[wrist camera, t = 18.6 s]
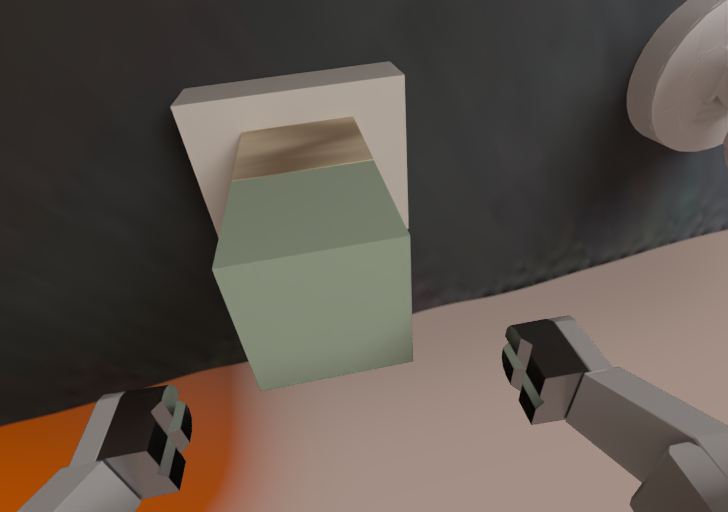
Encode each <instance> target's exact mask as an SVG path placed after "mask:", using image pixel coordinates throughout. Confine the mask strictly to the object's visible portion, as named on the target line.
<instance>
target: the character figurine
mask: <svg viewBox="0 0 728 512" xmlns="http://www.w3.org/2000/svg"><path fill="white" fill-rule="evenodd" d="M627 111H628V116H629V119H630V121H631V123H632V125H633V126H634V128H635V129H636V130H637V131H638V132H639V133H640V134H641V135H643V136H645V137H648V138H650V139H652V140H654V141H656V142H658V143H660V144H662V145H664V146H667V147H669V148H671V149H674V150H677V151H682V152H697V151H701V150H705V149H710V148H714V147H716V146H718V145H720V144H723V145H724V150H725V151H724V156H725V159H726V160H725V163H726V166H727V169H728V0H688V1H686V2H685V3H684V4H683V5H682V6H680V7H679V8H678V9H677V10H676V11H675V12H673V13H672V14H671V15H670V16H669V17H668V18H667V19H666V21H665V22H664V23H663V24H662V25H661V26H660V27H659V28H658V29H657V30H656V32H655V33H654V35H653V36H652V37H651V39H650V40H649V42H648V43H647V44H646V46H645V47H644V49H643V51H642V53H641V55H640V57H639V58H638V60H637V62H636V64H635V67H634V70H633V72H632V75H631V78H630V81H629V86H628V91H627Z"/></svg>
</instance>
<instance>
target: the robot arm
mask: <svg viewBox="0 0 728 512" xmlns="http://www.w3.org/2000/svg"><path fill="white" fill-rule="evenodd" d="M505 337H506V338H507V340H508V342H509V343H508V344H507V345H506V346H505V347H504V348H503V352H502V362H503V368H504V371H505V374H506V376H507V378H508V381H509V382H510V384H511V385H512V386H513V387H515V388H516V389H518V390H520V391H521V392H520V397H519V402H520V404H521V406H522V408H523V410H524V412H525V414H526V415H527V417H528V419H529V421H530V423H531V425H533V424H540V423H545V422H552V421H558V420H564V419H566V422H567V423H568V424H570V425H571V426H572V427H573V428H575V429H576V430H577V431H578V432H580V433H581V434H582V435H583V436H584V437H586V438H587V439H588V440H590V441H591V442H592V443H593V444H594V445H596V446H597V447H598V448H599V449H601V450H602V451H603V452H604V453H606V454H607V455H608V456H609V457H611V458H612V459H613V460H615V461H616V462H617V463H618V464H620V465H621V466H622V467H623V468H624V469H626V470H627V471H628V472H629V473H631V474H632V475H633V476H634V477H636V478H637V479H638V480H639V481H641V482H642V484H641V486H640V487H639V488H638V490H637V491H636V492H635V494H634V495H633V497H632V499H631V502H630V506H631V508H632V509H633V511H634V512H728V425H726V424H724V423H722V422H720V421H718V420H716V419H714V418H713V417H711V416H709V415H707V414H705V413H703V412H702V411H700V410H698V409H696V408H694V407H692V406H691V405H689V404H687V403H685V402H683V401H681V400H679V399H678V398H676V397H674V396H672V395H670V394H668V393H666V392H665V391H663V390H661V389H659V388H657V387H655V386H653V385H651V384H650V383H648V382H646V381H644V380H642V379H640V378H639V377H637V376H635V375H633V374H631V373H629V372H627V371H625V370H624V369H622V368H620V367H615V368H613V367H612V366H611V365H610V364H609V362H608V361H607V360H606V358H605V357H604V356H603V355H602V353H601V352H600V351H599V350H598V348H597V347H596V346H595V345H594V344H593V342H592V341H591V340H590V338H589V337H588V336H587V334H586V333H585V332H584V331H583V329H582V328H581V327H580V326H579V325H578V323H577V322H576V321H575V319H574V318H572V317H571V316H563V317H557V318H551V319H544V320H538V321H532V322H527V323H522V324H516V325H511V326H509V327H508V328H507V330H506V335H505ZM178 395H179V392H178V390H177V389H176V387H175V386H174V385H165V386H158V387H151V388H145V389H138V390H131V391H124V392H118V393H112V394H106V395H103V396H102V397H101V398H100V399H99V400H98V401H97V403H96V406H95V407H94V410H93V412H92V414H91V417H90V419H89V421H88V424H87V426H86V428H85V430H84V433H83V435H82V437H81V439H80V442H79V444H78V446H77V448H76V451H75V453H74V455H73V458H72V460H71V462H70V465H69V467H64V468H61V469H60V470H59V471H58V472H57V473H56V474H55V475H54V476H53V477H52V478H51V479H50V480H49V481H48V482H47V483H46V484H45V485H44V486H43V487H42V488H41V489H40V490H39V491H38V492H37V493H36V494H35V495H33V496H32V497H31V499H29V500H28V501H27V502H26V504H24V505H23V506H22V507H21V508H20V509H19V510H18V511H17V512H135V511H136V509H137V508H138V506H139V505H140V503H141V499H145V498H150V497H155V496H159V495H164V494H168V493H173V492H178V491H180V487H181V482H182V477H183V473H184V468H185V463H186V461H185V459H184V458H183V456H182V454H181V453H182V452H183V450H184V449H185V448H186V447H187V445H188V444H189V443H190V439H191V433H192V417H191V414H190V410H189V408H188V406H187V405H186V403H183V402H181V401H179V400H177V399H178Z"/></svg>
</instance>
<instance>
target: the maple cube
mask: <svg viewBox="0 0 728 512" xmlns="http://www.w3.org/2000/svg"><path fill="white" fill-rule="evenodd" d="M370 160H374V159H373V157H372V155H371V153H370V150H369V148H368V146H367V144H366V142H365V140H364V138H363V136H362V134H361V132H360V130H359V128H358V125H357V123H356V121H355V119H354V117H353V116H351V117H344V118H337V119H330V120H323V121H316V122H310V123H303V124H296V125H289V126H282V127H275V128H268V129H261V130H254V131H247V132H242V134H241V139H240V143H239V147H238V152H237V156H236V161H235V165H234V170H233V174H232V179H231V182H232V181H238V180H245V179H251V178H258V177H264V176H271V175H278V174H284V173H291V172H297V171H304V170H310V169H317V168H324V167H330V166H337V165H343V164H350V163H356V162H363V161H370Z"/></svg>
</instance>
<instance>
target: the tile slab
mask: <svg viewBox="0 0 728 512" xmlns="http://www.w3.org/2000/svg"><path fill="white" fill-rule="evenodd" d="M170 107H171V110H172V112H173V115H174V118H175V121H176V123H177V126H178V129H179V131H180V134H181V137H182V140H183V142H184V145H185V148H186V151H187V153H188V156H189V159H190V161H191V164H192V167H193V170H194V172H195V175H196V178H197V181H198V183H199V186H200V189H201V191H202V194H203V197H204V200H205V202H206V205H207V208H208V210H209V213H210V216H211V219H212V221H213V224H214V227H215V230H216V232H217V235H218V238H219V235H220V231H221V226H222V222H223V217H224V213H225V208H226V204H227V199H228V195H229V190H230V186H231V179H232V174H233V170H234V165H235V161H236V156H237V152H238V147H239V143H240V139H241V134H242V132H247V131H254V130H261V129H268V128H275V127H282V126H289V125H296V124H303V123H310V122H316V121H323V120H330V119H337V118H344V117H351V116H353V117H354V119H355V121H356V123H357V125H358V128H359V130H360V132H361V134H362V136H363V138H364V140H365V142H366V144H367V146H368V148H369V150H370V153H371V155H372V157H373V159H374V161H375V164H376V166H377V168H378V170H379V172H380V174H381V176H382V178H383V180H384V182H385V184H386V187H387V189H388V191H389V193H390V195H391V197H392V199H393V201H394V203H395V205H396V207H397V210H398V212H399V214H400V216H401V218H402V220H403V222H404V224H405V226H406V228H407V229H408V191H407V153H406V115H405V77H404V74H403V73H402V72H401V71H400V70H399V69H397V68H396V67H395V66H394V65H393V64H392V63H391V62H390V61H389V62H381V63H374V64H366V65H359V66H351V67H344V68H336V69H329V70H321V71H314V72H306V73H298V74H291V75H283V76H276V77H268V78H261V79H253V80H246V81H238V82H231V83H223V84H216V85H208V86H201V87H193V88H186V89H183V91H182V92H181V93H180V95H179V96H178V97H177V99H176V100H175V101H174V102H173V104H172V105H171V106H170Z"/></svg>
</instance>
